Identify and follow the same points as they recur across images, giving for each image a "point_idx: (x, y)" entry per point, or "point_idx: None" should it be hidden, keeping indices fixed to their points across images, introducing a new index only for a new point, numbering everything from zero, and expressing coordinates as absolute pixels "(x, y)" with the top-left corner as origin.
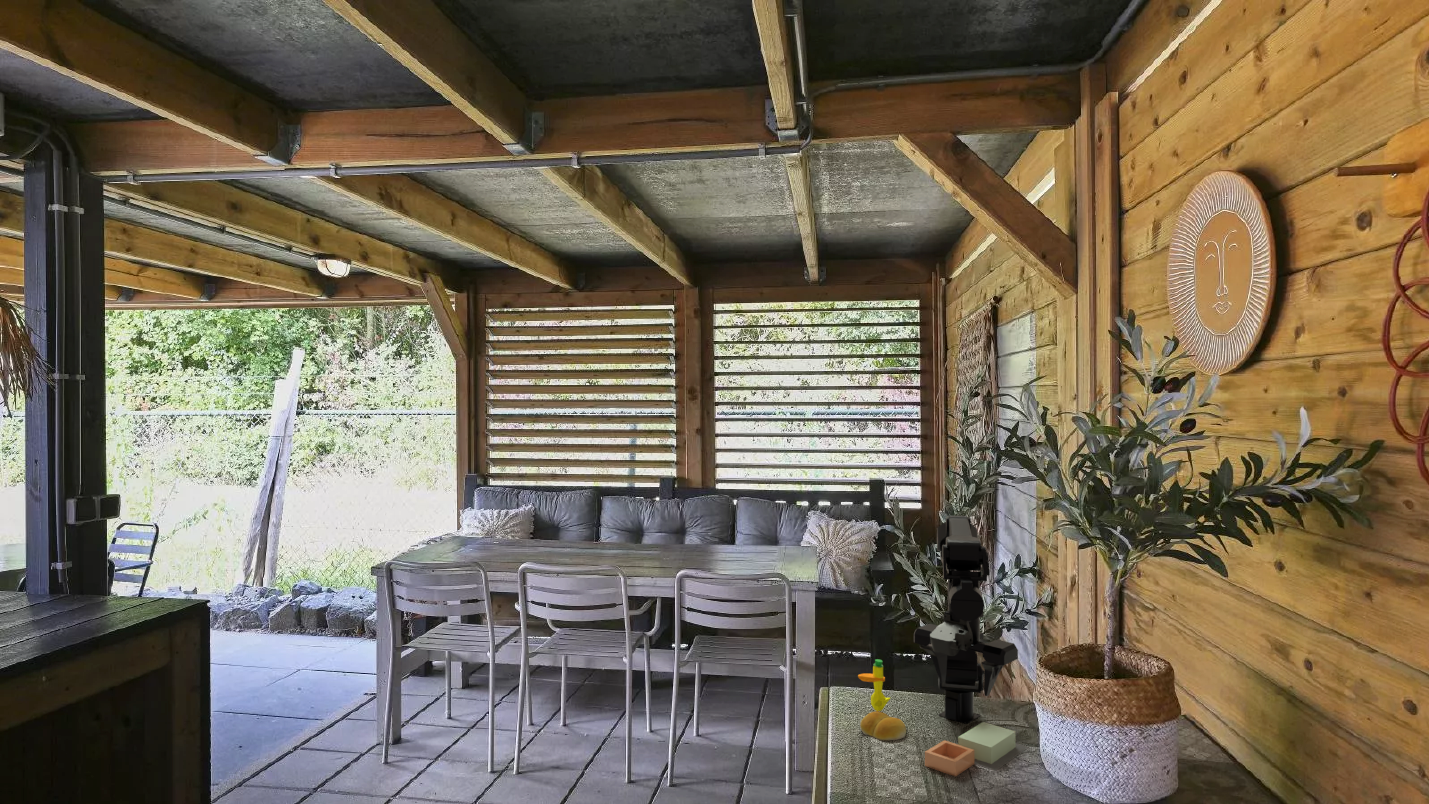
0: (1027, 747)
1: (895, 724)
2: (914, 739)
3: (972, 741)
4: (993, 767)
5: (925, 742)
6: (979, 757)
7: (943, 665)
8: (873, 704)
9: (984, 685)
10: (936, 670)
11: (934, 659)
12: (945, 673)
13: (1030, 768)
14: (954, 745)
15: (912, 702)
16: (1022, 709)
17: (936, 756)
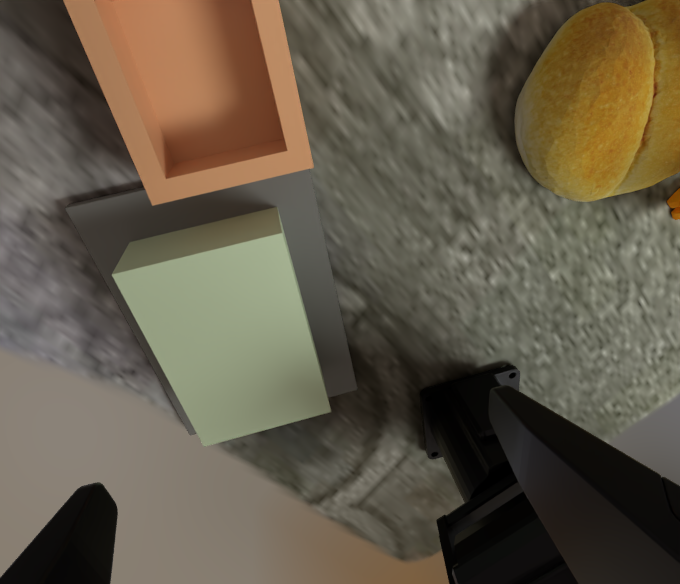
0: (187, 429)
1: (578, 107)
2: (480, 171)
3: (208, 251)
4: (96, 225)
5: (436, 187)
6: (180, 233)
7: (582, 540)
8: None
9: (39, 574)
10: (599, 444)
11: None
12: (522, 479)
13: (64, 344)
14: (240, 161)
15: (625, 373)
16: (386, 547)
17: None
